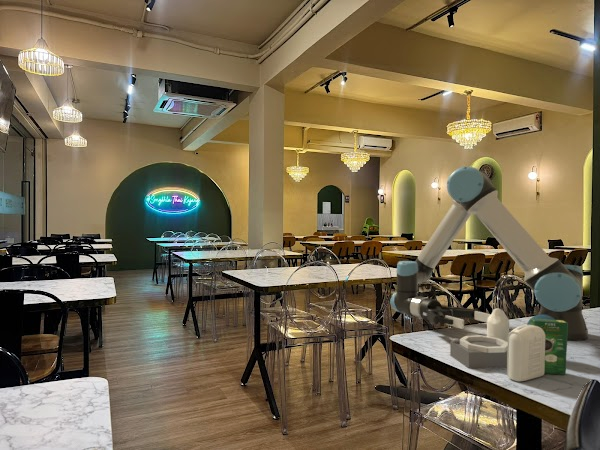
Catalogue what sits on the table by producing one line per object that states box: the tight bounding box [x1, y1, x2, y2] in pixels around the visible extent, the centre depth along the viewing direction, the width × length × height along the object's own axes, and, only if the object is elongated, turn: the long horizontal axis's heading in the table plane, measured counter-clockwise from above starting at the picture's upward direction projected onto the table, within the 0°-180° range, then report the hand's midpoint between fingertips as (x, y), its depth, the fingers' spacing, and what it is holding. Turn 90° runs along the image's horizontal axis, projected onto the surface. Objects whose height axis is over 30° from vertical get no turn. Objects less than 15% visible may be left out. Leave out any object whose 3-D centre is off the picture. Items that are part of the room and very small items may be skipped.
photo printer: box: [506, 324, 545, 382], centre depth 101 cm, size 10×4×12 cm, turn 119°
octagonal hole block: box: [449, 334, 508, 369], centre depth 113 cm, size 14×11×5 cm
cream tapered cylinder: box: [486, 307, 510, 342], centre depth 124 cm, size 6×12×6 cm
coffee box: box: [529, 317, 568, 375], centre depth 104 cm, size 8×3×13 cm, turn 82°
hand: (478, 321), depth 129 cm, fingers open, 13 cm apart
